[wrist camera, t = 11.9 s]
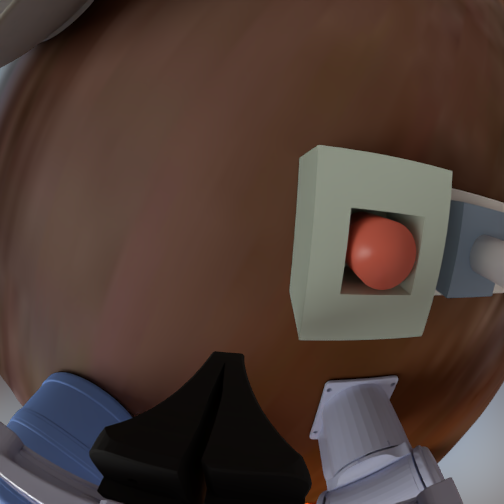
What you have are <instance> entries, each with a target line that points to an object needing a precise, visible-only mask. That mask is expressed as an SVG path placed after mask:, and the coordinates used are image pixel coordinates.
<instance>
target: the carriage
mask: <svg viewBox="0 0 504 504" xmlns="http://www.w3.org/2000/svg"><path fill="white" fill-rule="evenodd" d="M495 283H496V284H497V285H499V286H501V287H502V288H504V212H500V211H496V210H493V209H489V208H485V207H482V206H478V205H474V204H470V203H465V202H460V201H454V200H451V202H450V212H449V220H448V228H447V235H446V241H445V247H444V253H443V258H442V263H441V268H440V272H439V277H438V281H437V285H436V289H435V290H437V291H438V292H439V293H441V294H442V295H443V296H445V297H446V298H461V297H483V296H492V294H493V290H494V286H495Z"/></svg>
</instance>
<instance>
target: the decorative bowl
mask: <svg viewBox="0 0 504 504" xmlns="http://www.w3.org/2000/svg"><path fill="white" fill-rule="evenodd" d="M93 1H94V0H0V68H1V67H3V66H5V65H6V64H8V63H10V62H12V61H13V60H15V59H17V58H19V57H20V56H22V55H23V54H25V53H26V52H28V51H29V50H31V49H32V48H34V47H35V46H36V45H38V44H39V43H41V42H44V41H47V40H49V39H51V38H53V37H54V36H56V35H57V34H59V33H60V32H62V31H63V30H64V29H66V28H67V27H68V26H69V25H70V24H72V23H73V22H74V21H75V20H76V19H77V18H78V17H79V16H80V15H81V14H82V13H83V12H84V11H85V10H86V9H87V8H88V7H89V6H90V5H91V4H92V2H93Z"/></svg>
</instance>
